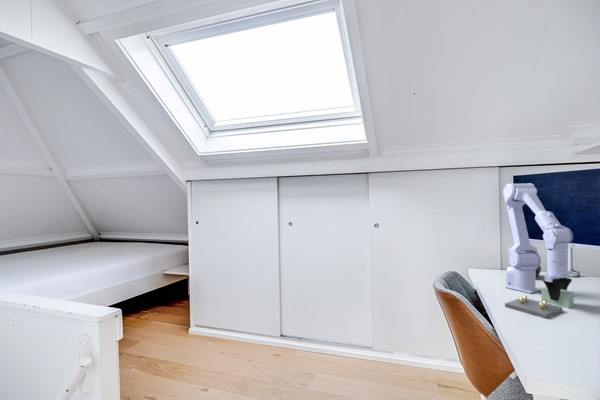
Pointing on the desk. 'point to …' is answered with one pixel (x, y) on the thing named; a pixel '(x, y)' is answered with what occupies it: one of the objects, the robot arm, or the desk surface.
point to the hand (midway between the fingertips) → (557, 298)
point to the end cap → (538, 270)
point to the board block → (564, 299)
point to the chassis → (534, 307)
